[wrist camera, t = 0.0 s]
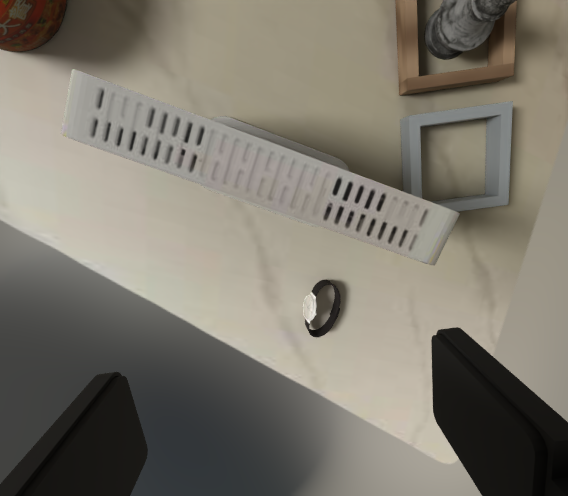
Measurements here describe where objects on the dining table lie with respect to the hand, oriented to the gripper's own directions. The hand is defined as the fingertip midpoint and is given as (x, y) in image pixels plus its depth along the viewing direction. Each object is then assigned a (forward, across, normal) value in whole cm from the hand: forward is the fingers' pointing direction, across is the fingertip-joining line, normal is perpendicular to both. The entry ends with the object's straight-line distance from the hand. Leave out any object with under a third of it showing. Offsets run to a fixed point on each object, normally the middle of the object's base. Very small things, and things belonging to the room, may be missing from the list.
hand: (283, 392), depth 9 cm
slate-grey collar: (+31, -22, -4) cm, 38 cm away
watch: (+32, -4, +12) cm, 34 cm away
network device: (+32, 0, -6) cm, 32 cm away
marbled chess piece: (+31, -22, -18) cm, 42 cm away
